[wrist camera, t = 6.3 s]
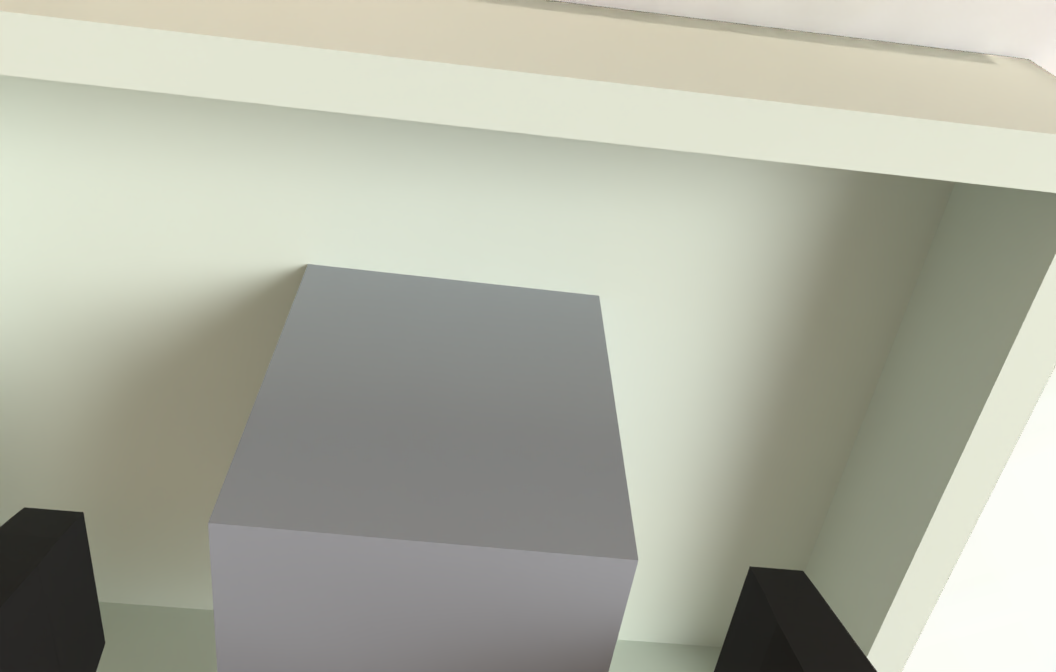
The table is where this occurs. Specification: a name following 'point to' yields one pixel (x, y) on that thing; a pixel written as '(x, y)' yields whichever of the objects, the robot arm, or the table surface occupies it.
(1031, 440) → the table surface
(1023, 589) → the table surface
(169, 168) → the tray
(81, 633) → the robot arm
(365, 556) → the grey rectangular block
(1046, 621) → the table surface
